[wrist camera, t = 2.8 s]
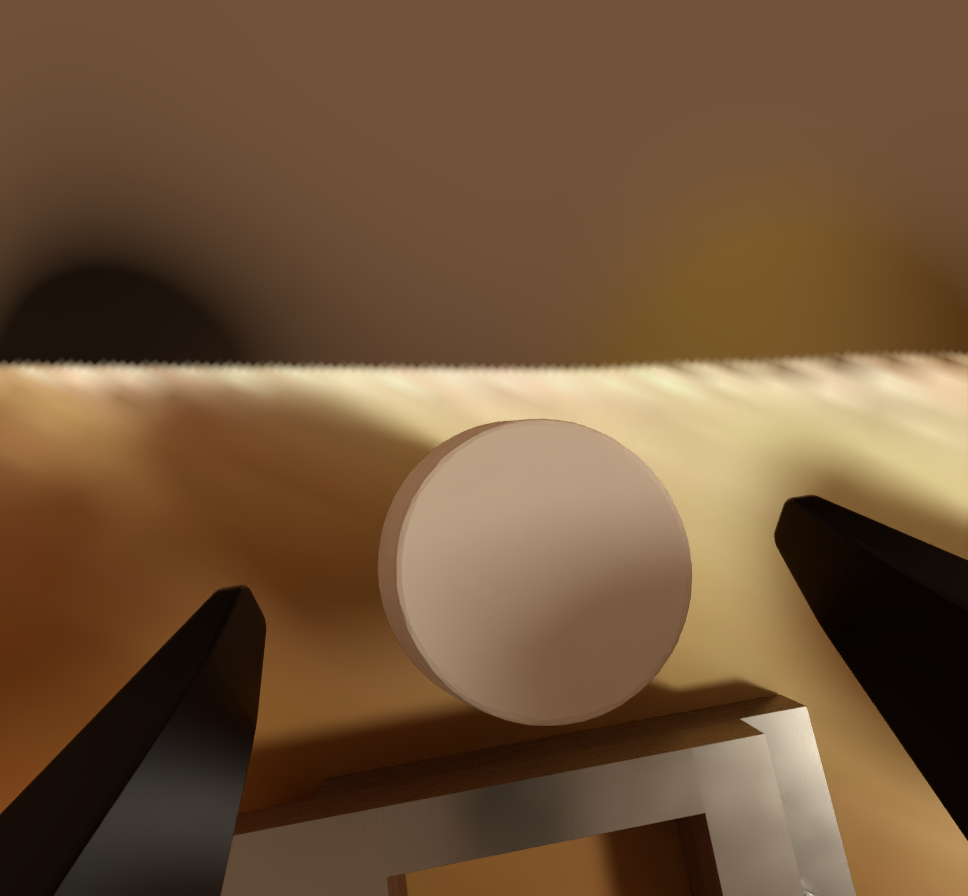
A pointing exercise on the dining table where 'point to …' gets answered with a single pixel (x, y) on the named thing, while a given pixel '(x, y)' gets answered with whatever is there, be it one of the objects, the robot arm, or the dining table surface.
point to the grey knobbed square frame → (569, 808)
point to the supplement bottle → (535, 571)
